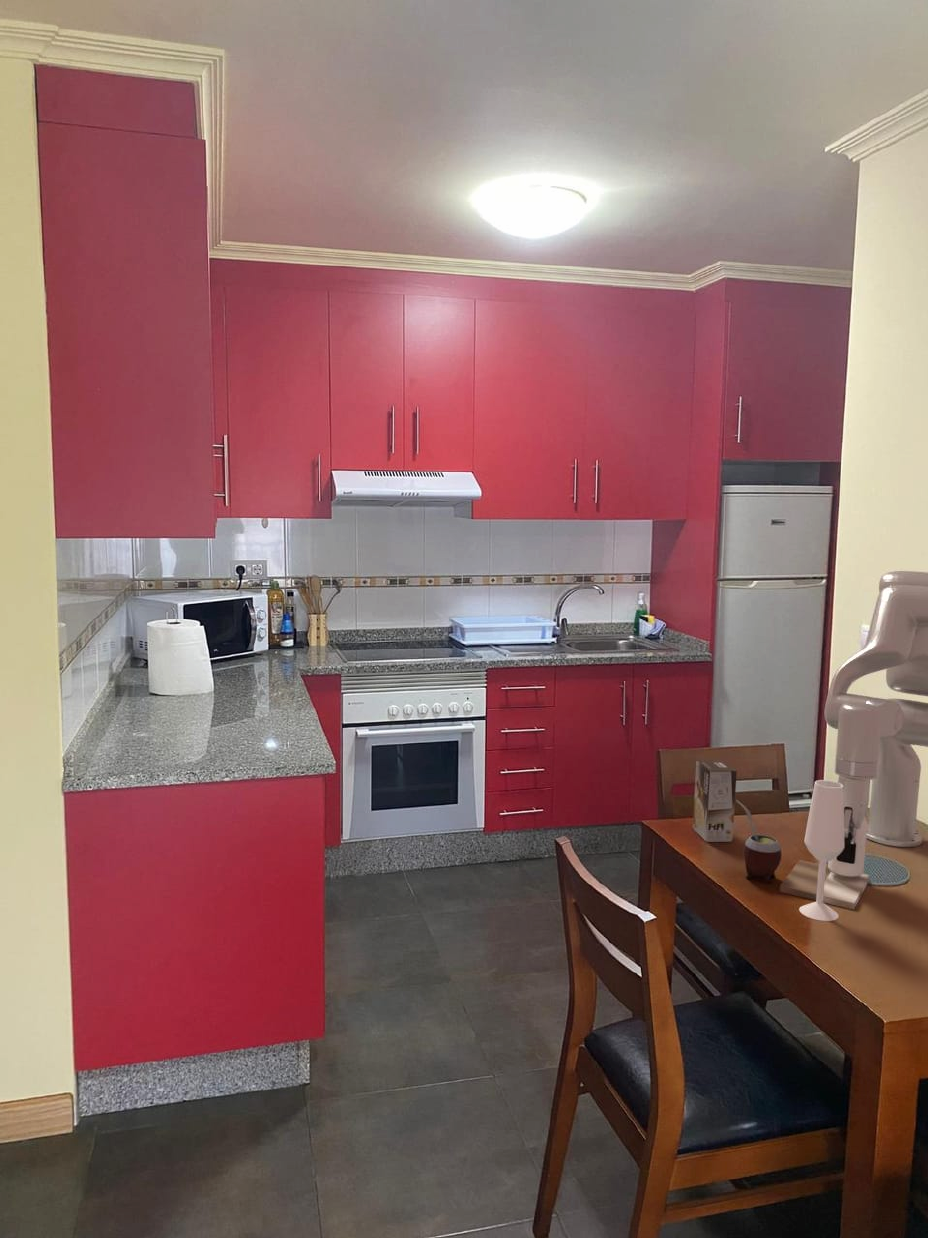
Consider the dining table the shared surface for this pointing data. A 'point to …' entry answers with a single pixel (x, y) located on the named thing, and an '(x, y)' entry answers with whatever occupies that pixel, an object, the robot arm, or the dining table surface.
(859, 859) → the can
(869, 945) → the dining table surface
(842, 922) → the dining table surface
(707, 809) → the coffee box
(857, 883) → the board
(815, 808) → the champagne flute
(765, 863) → the mate gourd
